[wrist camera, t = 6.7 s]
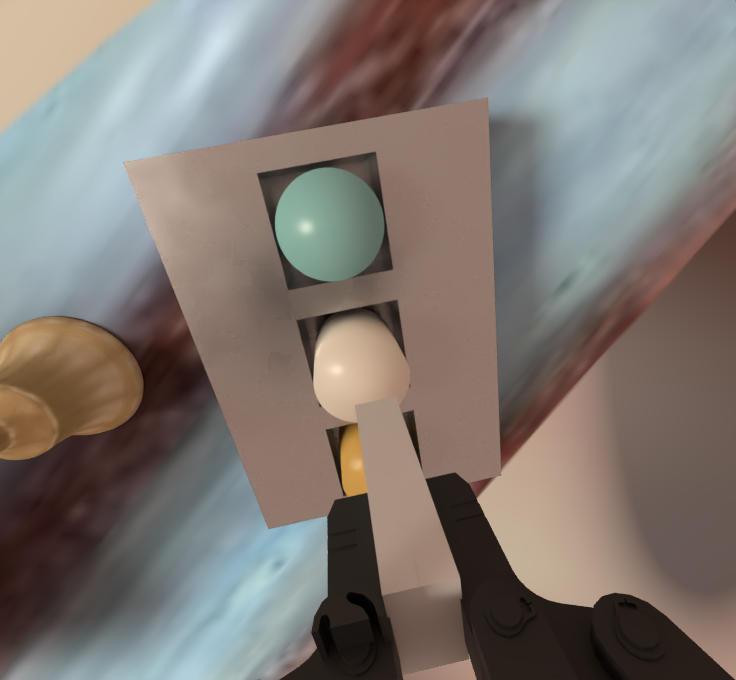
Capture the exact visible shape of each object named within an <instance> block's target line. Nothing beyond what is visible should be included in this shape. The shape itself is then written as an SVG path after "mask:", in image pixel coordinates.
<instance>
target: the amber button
mask: <svg viewBox="0 0 736 680" xmlns="http://www.w3.org/2000/svg"><path fill="white" fill-rule="evenodd" d="M339 444H340V458H341V472H342V484H343V489H344V491H345V493H346V495H347V496H348V497H350V496H355V495H359V494H364V493H367V486H366V479H365V472H364V465H363V458H362V451H361V443H360V436H359V429H358V423H353V424H348V425H344V426H340V427H339Z"/></svg>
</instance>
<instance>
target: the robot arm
mask: <svg viewBox="0 0 736 680" xmlns="http://www.w3.org/2000/svg"><path fill="white" fill-rule="evenodd" d="M355 408H356V415H357V422H358V429H359V436H360V443H361V451H362V458H363V465H364V472H365V479H366V486H367V493H364V494H359V495H355V496H350V497H346V498H341V499H336V500H334V503H333V505H332V507H331V510H330V512H329V514H328V597H327V598H326V599H325V600H324V601H323V602H322V603H321V605H320V607H319V609H318V611H317V613H316V614H315V616H314V621H313V626H312V632H311V633H312V636H313V638H314V641H315V643H316V646H317V649H316V650H315V652H314V653H313V654H312V655H311V656H310V658H309V659H308V660H306V661H305V662H304V663H303V664H302V665H301V666H299V667H298V668H296V669H295V670H293V671H292V672H290V673H289V674H287V675H286V676H284V677H283V678H282V679H280V680H403V677H402V675H405V674H409V673H413V672H417V671H421V670H426V669H430V668H434V667H438V666H442V665H446V664H450V663H454V662H458V661H463V660H467V659H469V656H470V659H471V662H472V666H473V669H474V672H475V675H476V678H477V680H735V679H733V678H732V677H731V676H730V675H729V674H728V673H727V672H726V671H725V670H724V669H723V668H722V667H720V665H718V664H717V663H716V662H715V661H714V660H713V659H712V658H711V657H710V656H708V654H707V653H705V652H704V651H703V650H702V649H701V648H700V647H699V646H698V645H697V644H696V643H695V642H694V641H692V640H691V639H690V638H689V637H688V636H687V635H686V634H685V633H684V632H683V631H682V630H681V629H679V628H678V627H677V626H676V625H675V624H674V623H673V622H672V621H671V620H670V619H669V618H668V617H667V616H665V615H664V614H663V613H661V612H660V611H659V610H657V609H656V608H655V607H653V606H652V605H651V604H649V603H648V602H646V601H643V600H641V599H639V598H636V597H634V596H631V595H627V594H619V593H613V594H609V595H605V596H602V597H601V598H600V599H599V600H598V601H597V602H596V604H595V605H594V608H591V607H584V606H576V605H569V604H561V603H557V602H553V601H549V600H546V599H544V598H542V597H540V596H538V595H536V594H535V593H533V592H532V591H530V590H529V589H528V588H526V587H525V585H524V584H523V583H521V581H520V580H519V579H518V578H517V576H516V575H515V573H514V572H513V570H512V568H511V566H510V564H509V562H508V560H507V558H506V556H505V554H504V552H503V550H502V548H501V546H500V544H499V542H498V540H497V538H496V536H495V535H494V532H493V530H492V528H491V526H490V524H489V522H488V520H487V519H486V517H485V515H484V513H483V510H482V508H481V506H480V504H479V503H478V501H477V499H476V497H475V495H474V493H473V491H472V489H471V487H470V485H469V484H468V483H467V482H466V481H465V480H464V479H463V478H462V477H460V476H459V475H458V474H457V473H456V472H454V473H449V474H445V475H440V476H436V477H431V478H427V479H425V477H424V475H423V472H422V469H421V466H420V463H419V460H418V458H417V455H416V452H415V449H414V446H413V444H412V441H411V438H410V435H409V432H408V429H407V427H406V424H405V421H404V418H403V415H402V413H401V410H400V407H399V404H398V401H397V398H396V397H392V398H387V399H383V400H378V401H373V402H368V403H364V404H359V405H355ZM468 653H469V656H468Z"/></svg>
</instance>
